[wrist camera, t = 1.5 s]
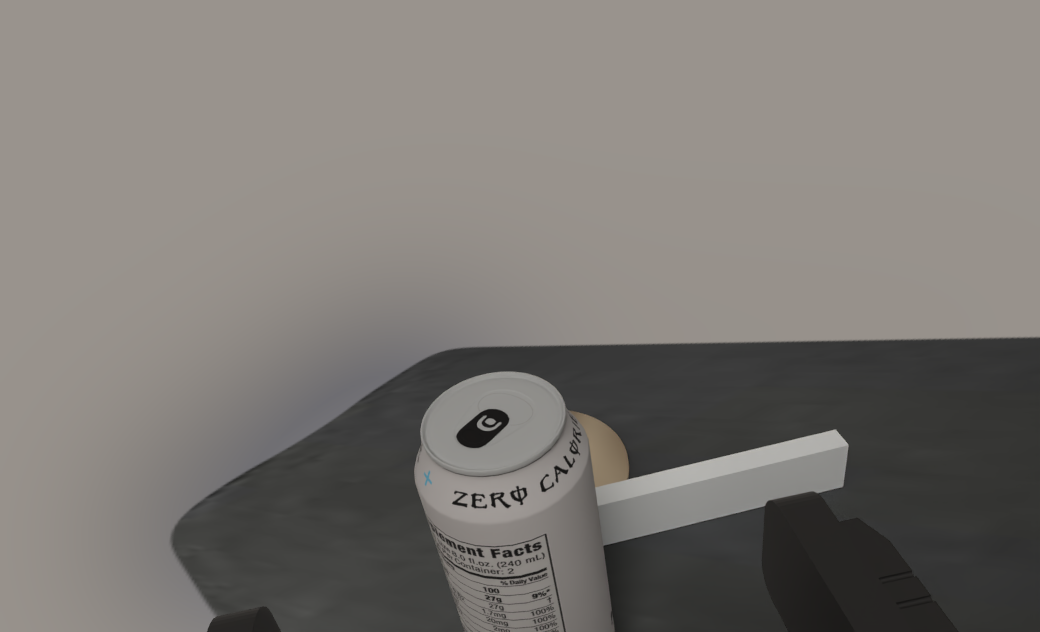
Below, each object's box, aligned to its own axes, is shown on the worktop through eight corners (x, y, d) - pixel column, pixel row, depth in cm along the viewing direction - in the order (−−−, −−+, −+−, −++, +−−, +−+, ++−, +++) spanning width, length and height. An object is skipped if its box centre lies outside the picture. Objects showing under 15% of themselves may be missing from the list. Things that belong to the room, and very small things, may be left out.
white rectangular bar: (830, 470, 38) (835, 429, 37) (843, 486, 37) (848, 445, 36) (449, 563, 37) (437, 525, 35) (451, 583, 36) (438, 544, 34)
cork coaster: (602, 399, 46) (602, 395, 46) (653, 515, 37) (652, 510, 37) (451, 434, 45) (450, 430, 45) (468, 561, 37) (466, 555, 37)
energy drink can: (646, 656, 31) (621, 394, 23) (565, 777, 28) (500, 517, 20) (540, 589, 35) (486, 343, 27) (456, 689, 31) (364, 439, 23)
